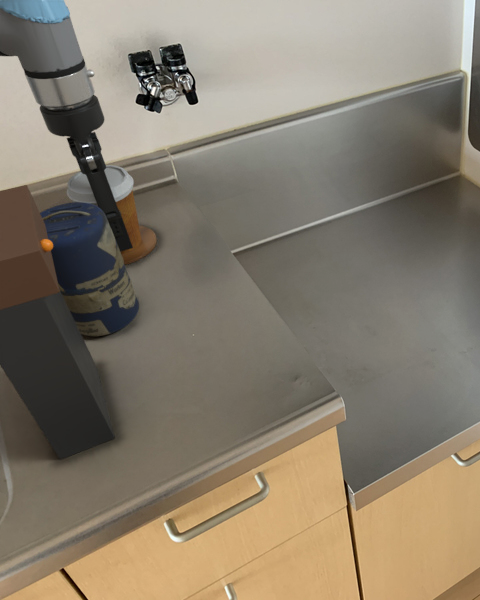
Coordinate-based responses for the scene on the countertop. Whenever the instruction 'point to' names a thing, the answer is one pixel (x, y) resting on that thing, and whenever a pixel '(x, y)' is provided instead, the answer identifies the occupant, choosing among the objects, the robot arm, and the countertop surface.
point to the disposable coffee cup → (122, 194)
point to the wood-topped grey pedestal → (45, 335)
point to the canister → (90, 268)
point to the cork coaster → (141, 246)
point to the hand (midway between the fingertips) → (118, 234)
